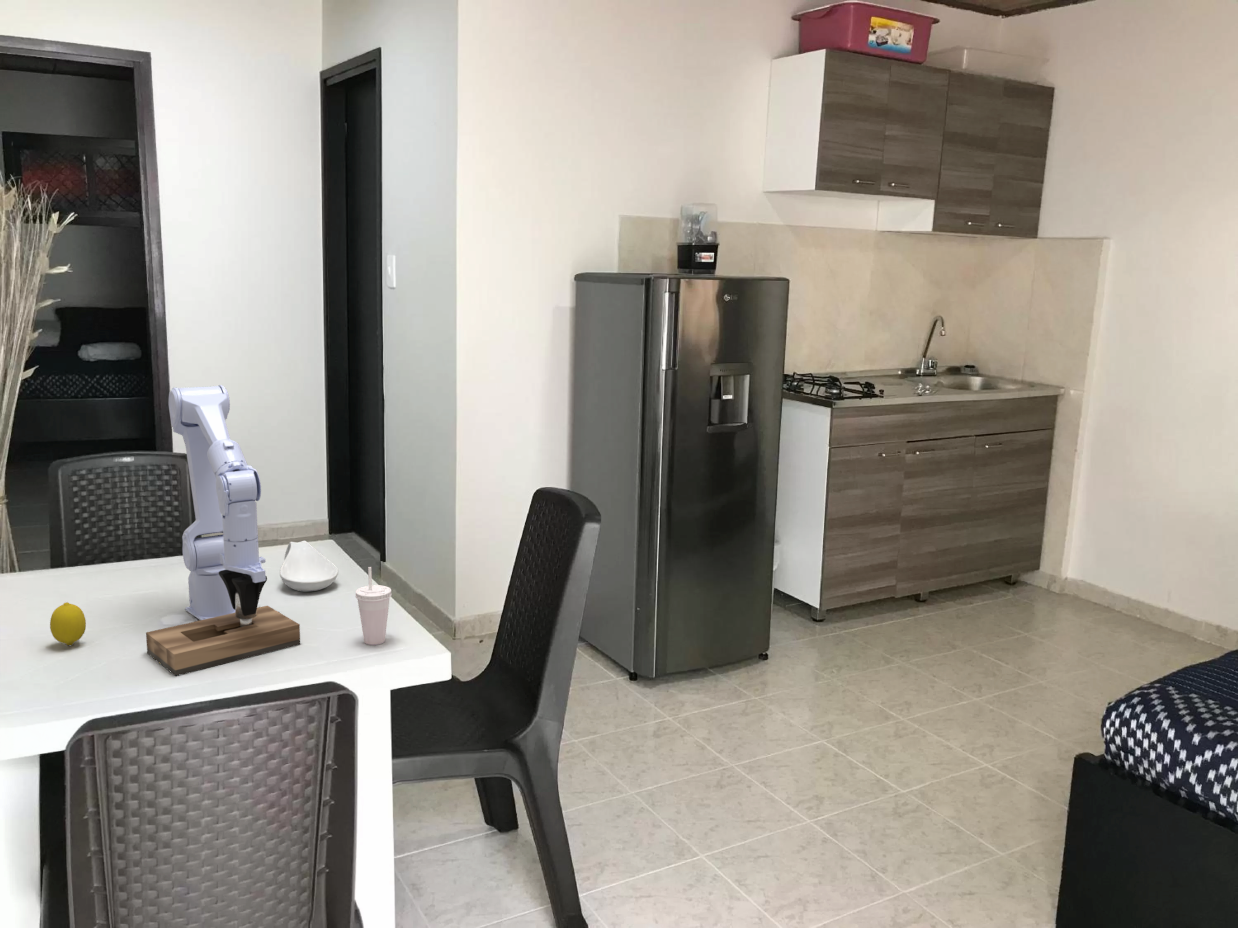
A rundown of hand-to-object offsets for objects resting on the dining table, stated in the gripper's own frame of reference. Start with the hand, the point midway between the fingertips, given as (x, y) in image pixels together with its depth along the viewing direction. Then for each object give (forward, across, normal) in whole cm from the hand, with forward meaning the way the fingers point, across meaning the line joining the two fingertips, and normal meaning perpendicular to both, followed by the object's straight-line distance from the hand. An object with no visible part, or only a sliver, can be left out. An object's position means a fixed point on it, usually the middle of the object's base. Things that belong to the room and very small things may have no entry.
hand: (244, 611), depth 182 cm
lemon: (+6, +18, +24) cm, 31 cm away
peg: (+5, 0, 0) cm, 5 cm away
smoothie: (+6, -14, -18) cm, 24 cm away
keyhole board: (+6, 0, +4) cm, 7 cm away
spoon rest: (+7, +28, -25) cm, 38 cm away
